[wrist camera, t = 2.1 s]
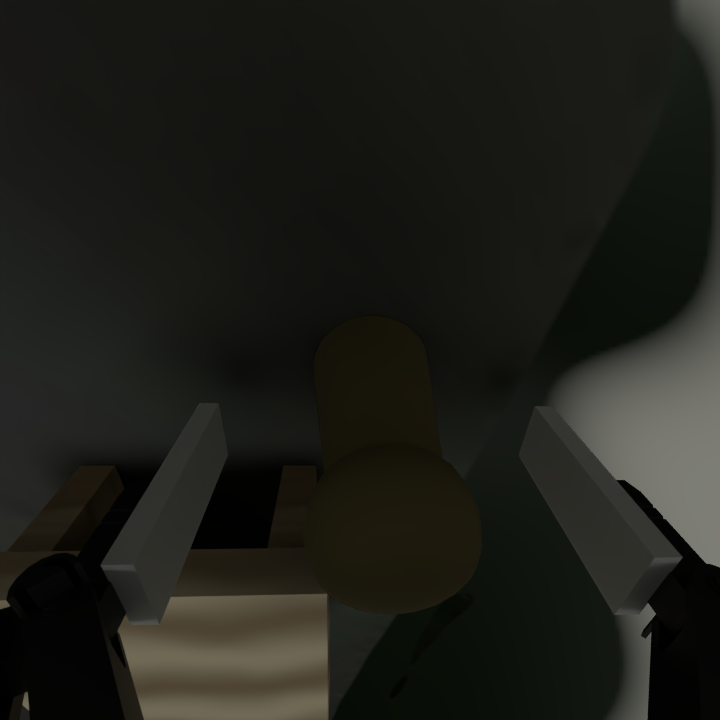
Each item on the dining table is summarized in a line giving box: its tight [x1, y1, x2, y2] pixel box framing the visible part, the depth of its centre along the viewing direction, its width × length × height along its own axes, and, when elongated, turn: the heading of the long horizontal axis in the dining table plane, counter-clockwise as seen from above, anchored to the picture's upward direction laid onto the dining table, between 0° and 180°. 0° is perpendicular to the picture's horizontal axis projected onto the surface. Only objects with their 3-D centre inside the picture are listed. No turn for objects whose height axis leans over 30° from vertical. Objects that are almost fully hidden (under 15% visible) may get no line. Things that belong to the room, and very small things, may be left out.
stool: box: [0, 465, 329, 720], centre depth 22 cm, size 16×16×8 cm
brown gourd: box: [304, 315, 482, 614], centre depth 14 cm, size 6×6×11 cm
